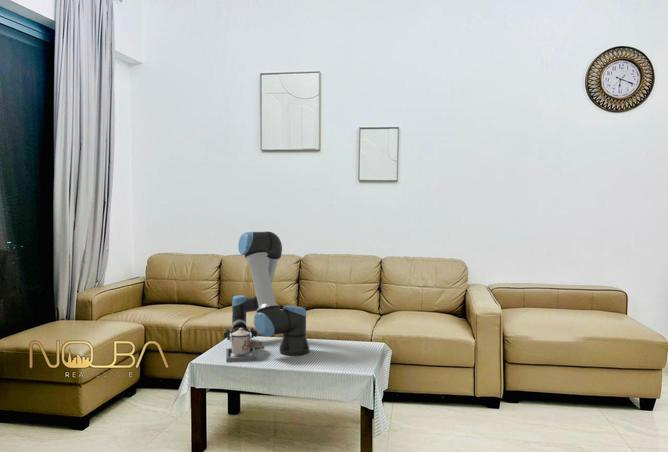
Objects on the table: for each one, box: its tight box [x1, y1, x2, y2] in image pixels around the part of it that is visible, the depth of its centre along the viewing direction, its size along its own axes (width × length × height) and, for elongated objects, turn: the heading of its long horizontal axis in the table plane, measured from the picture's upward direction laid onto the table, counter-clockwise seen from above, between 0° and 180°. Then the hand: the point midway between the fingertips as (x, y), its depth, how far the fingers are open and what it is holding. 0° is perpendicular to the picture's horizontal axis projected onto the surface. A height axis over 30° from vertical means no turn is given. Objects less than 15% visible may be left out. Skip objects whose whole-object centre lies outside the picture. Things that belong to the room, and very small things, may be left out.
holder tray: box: [225, 347, 257, 363], centre depth 247 cm, size 14×17×2 cm
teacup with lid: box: [231, 328, 251, 355], centre depth 247 cm, size 12×9×12 cm
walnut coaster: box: [250, 341, 264, 350], centre depth 265 cm, size 12×12×1 cm
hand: (240, 338), depth 242 cm, fingers closed on teacup with lid, 9 cm apart
